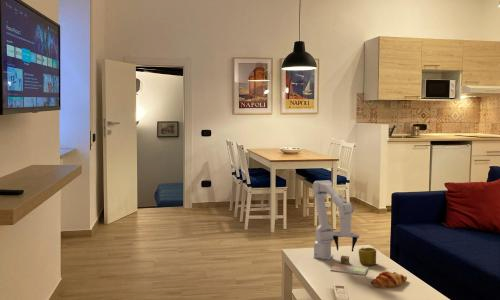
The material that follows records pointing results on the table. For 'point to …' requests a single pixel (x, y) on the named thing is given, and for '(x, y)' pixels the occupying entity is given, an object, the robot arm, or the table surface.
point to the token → (344, 260)
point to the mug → (367, 256)
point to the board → (349, 269)
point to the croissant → (388, 279)
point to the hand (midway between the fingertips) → (345, 250)
